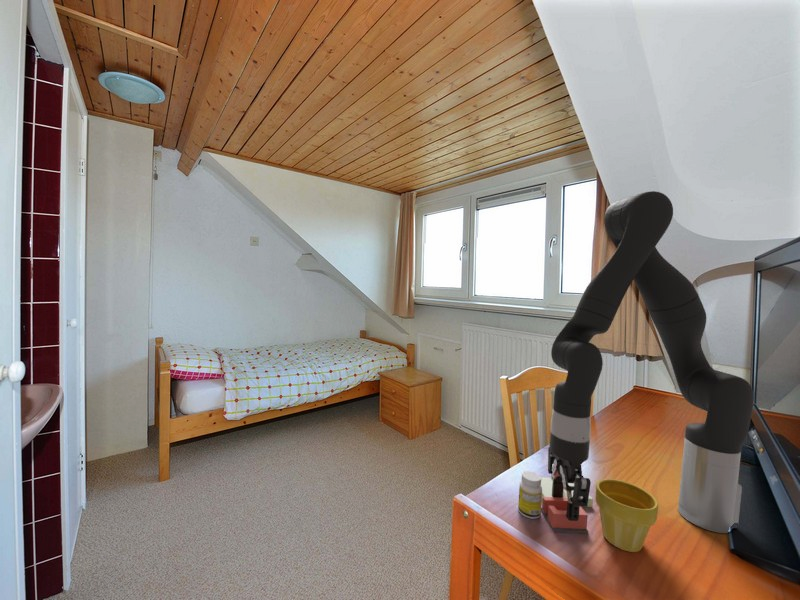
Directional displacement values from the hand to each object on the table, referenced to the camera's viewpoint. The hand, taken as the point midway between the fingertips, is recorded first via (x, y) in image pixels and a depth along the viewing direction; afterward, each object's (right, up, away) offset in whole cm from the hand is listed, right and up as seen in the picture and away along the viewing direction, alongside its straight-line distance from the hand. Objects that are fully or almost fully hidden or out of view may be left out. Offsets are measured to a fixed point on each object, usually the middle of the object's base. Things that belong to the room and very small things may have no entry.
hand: (564, 508), depth 75 cm
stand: (+3, -2, +9) cm, 10 cm away
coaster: (0, -3, 0) cm, 3 cm away
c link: (0, -2, 0) cm, 2 cm away
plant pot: (+9, -4, -5) cm, 11 cm away
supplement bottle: (-7, -3, +3) cm, 8 cm away
